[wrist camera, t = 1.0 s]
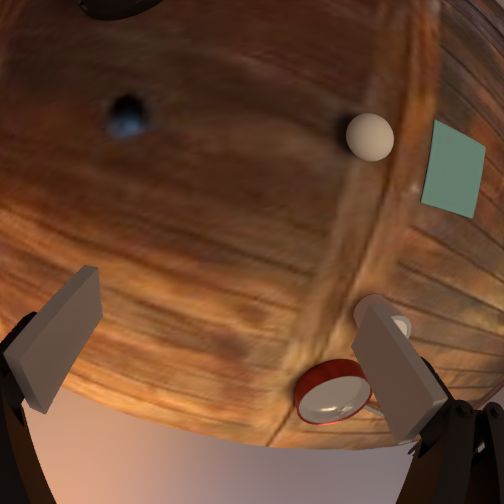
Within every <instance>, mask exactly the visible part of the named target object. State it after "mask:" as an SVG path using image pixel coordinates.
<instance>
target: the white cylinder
mask: <svg viewBox="0 0 504 504" xmlns="http://www.w3.org/2000/svg"><path fill="white" fill-rule="evenodd" d="M369 304H377V305H382V306H383V307H384V309H385V310H386V311H387V313H388V314H389V315H390V317H391V318H392V319H393V320H394V322H395V323H396V324H397V326H398V327H399V328H400V330H401V331H402V332H403V334H404V335H405V337H406V338H407V339H408V338H409V336H410V332H411V323H410V321H409V320H408V319H407V318H406V317H405V316H404V315H403V314H402V313H401V312H400V311H399V310H397V309H396V308H395V307H394V306H393V305H392V304H391V303H390V302H388V301H387V300H386V299H385V298H384V297H383V296H382V295H378V294H371V295H368V296H366V297H364V298H362V299H361V300H360V301H359V303H358V304H357V305H356V307H355V309H354V313H353V317H354V320H355V323H356V325H357V327H358V329H359V327H360V325H361V323H362V320H363V318H364V315H365V313H366V311H367V308H368V306H369Z"/></svg>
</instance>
